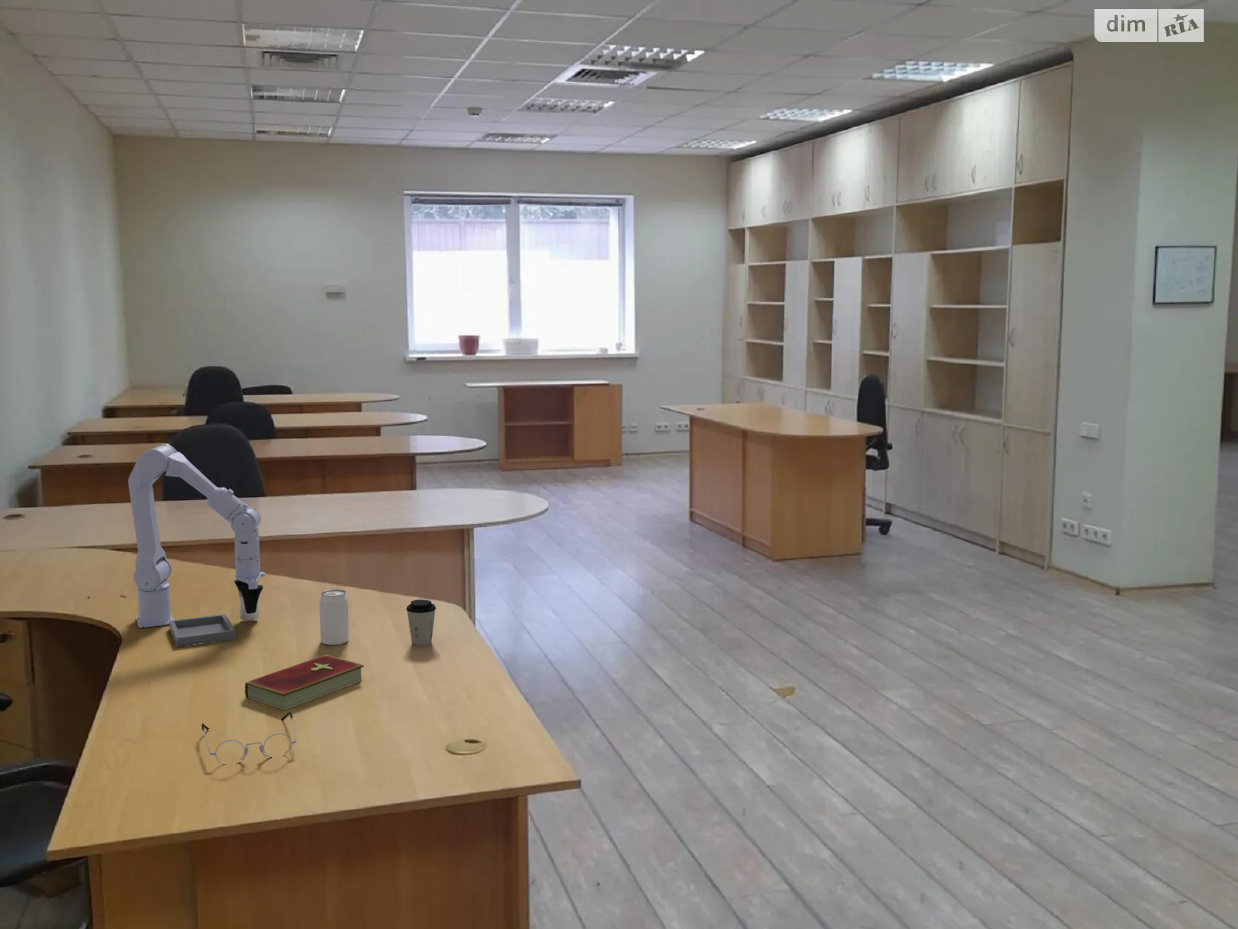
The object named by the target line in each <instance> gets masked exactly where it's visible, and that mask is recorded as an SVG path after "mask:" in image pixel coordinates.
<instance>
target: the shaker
mask: <svg viewBox="0 0 1238 929" xmlns="http://www.w3.org/2000/svg"><path fill="white" fill-rule="evenodd" d="M238 596H239V598H238V599H239V619H240V620H241V621H254V620H257V619H259V617H260V616H259V615H260V613H259V610H260V609H259V608H260V607H259V602H258V603H257V609H256V613H249V614H247V613H246V610H245V605H244V600H243V596H242V594H241V592H240V590H239V591H238Z"/></svg>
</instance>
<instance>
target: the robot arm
mask: <svg viewBox="0 0 1238 929" xmlns="http://www.w3.org/2000/svg"><path fill="white" fill-rule="evenodd" d="M164 473H165V476H166V477H175V478H181V479H182V480H183V481H184V482H186V483H188V484H189V485H190V486H192V487H193V488H194V489H196V490H197V491H198V492H199V493H201V495H203V496H205V497H206V500H207V505H208V506H209V507H210V508H211V509H212V510H214V512H216V513H217V514H219V516H221V517H222V518H223V519H224V520H225V521H227V522H228V523H230V528H231V529H232V531H233V532H234V558H235V559H234V560H235V562H234V563H235V565H234V566H235V574H234V580H233V583H234V584H235V586H236V587H237V590H238V592H239V590H240V592H241V594H242V596H243V600H244V605H245V610H246V613H247V614H249V613H256V609H257V603H258V604H259V599H260V594H261V593H262V591H263V589H264V586H263V585H262V584H258V582H259V580H260V579H261V578H262V577H266V572H264V571H261V563H260V562H261V561H260V560H261V559H260V537H259V528H258V527H259V525H260V523H261V521H262V520H261V514H260V512H259V511H257V509H256V508H255V507H254V506H253V507H252V506H249V504H247V503H246V502H245V503H244V502H242V500H240V499H239V498H238V497H237V496H236V495H234V492H235V491H233V489H231V488H229V489H227V488H226V487H218V486H216V485H215V484H214V483H213V482H212V481H211V480H209V478H207V477H206V476H205V475H204V474H203V473H202V472H201V471H200V470H199V469H198V468H197V467H196V466H195V465H193V464H192V463H191V462H190V461H189V460H188V459H187V458H186V456H185V455H183V453H181V452H180V451H177V450H176V449H175V447H173V446H171V445H170V444H167V443H166V444H165V443H164V444H159V445H157V446H155V447H154V448H151V449H147V450H145V451H144V452H142V453H141V455H139V456H138V457H137V458H136V460H135V464H134V466H133V468H132V470H131V473H130V474H129V477H128V479H127V480H128V481H127V483H128V490H129V497H130V504H131V510H132V516H133V524H134V532H135V538H136V545H137V555H136V558H135V570H134V573H133V582H134V583H135V586H136V587H137V601H138V602H137V603H138V615H136V616H135V619H136V623H137V625H138V626H137V627H138V628H139V629H142V628H143V627H144V628H151V627H159V626H167V625H168V626H169V621H171V620H174V618H173V616H172V613H171V595H170V594H171V593H170V583H169V580H168V578H170V576H171V574H172V571H173V570H172V565H171V563H170V561H169V560H168V559H167V556H166V555H167V554H166V552H165V550H164V549H163V547H162V545H161V544H162V543H161V537H160V531H159V529H160V528H159V522H158V517H157V516H158V515H157V510H156V509H157V508H156V503H155V497H154V494H155V493H154V488H153V485H154V484H155V482H156V481H157V480H158V479H159V478H160V477H161V476H162V475H163V474H164Z"/></svg>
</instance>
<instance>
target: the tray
mask: <svg viewBox="0 0 1238 929" xmlns="http://www.w3.org/2000/svg"><path fill="white" fill-rule="evenodd" d="M168 626H169V632H170V634H171V633H172V634H171V637H172V638H174V639H173V641H174V640H175V641H174V643H176V644H175V646H176V648H181V647H180V646H183V647H187V646H186V645H191V646H194V645H193V644H199V643H206V644H212V642H214V643H218V642H219V641H220V642H219V643H221V641H222V642H229V641H236V639H237V634H236V629H235V627H234V626H233V625H232V622H231V621H230V619H229V617H228V616H227V614H226V613H223V614H222V613H221V614H214V615H206V616H197V617H196V616H195V617H188V618H181V619H180V618H179V619H173V620H171V621H169V625H168ZM199 645H200V644H199Z"/></svg>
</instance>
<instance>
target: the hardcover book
mask: <svg viewBox="0 0 1238 929" xmlns="http://www.w3.org/2000/svg"><path fill="white" fill-rule="evenodd" d="M362 668H364V664H362V663H357V662H354V661H351V660H347V659H343V658H340V657H336V656H334V655H329V654H324V655H320V656H318V657H316V658H312V659H309V660H307V661H304V662H301V663H298V664H297V663H296V664H294V665H291V666H289V667H286V668H284V669H280V670H277V671H275V672H272V673H269V674H266V675H263V676H260V677H257V678H254V679H251V680H248V681H246V682H245V683H244V696H245V699H246V700H247V699H250V700H253V701H256V702H259V703H263V704H264V705H268V706H271V707H274V708H278V709H279V710H283V711H287V710H289V709H291V708H295V707H296V706H299V705H302V704H305V703H307V702H310V701H312V700H315V699H318V698H320V697H323V696H326V695H328V694H330V693H333V692H332V691H334V692H336V691H338V689H339V688H341V689H344V688H346V687H345V686H347V687H349V686H351V685H350V684H352V685H354V683H355V682H357V683H359V682H358V681H360V682H362ZM355 684H356V683H355ZM348 685H349V686H348ZM343 687H344V688H343ZM339 690H340V689H339Z"/></svg>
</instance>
